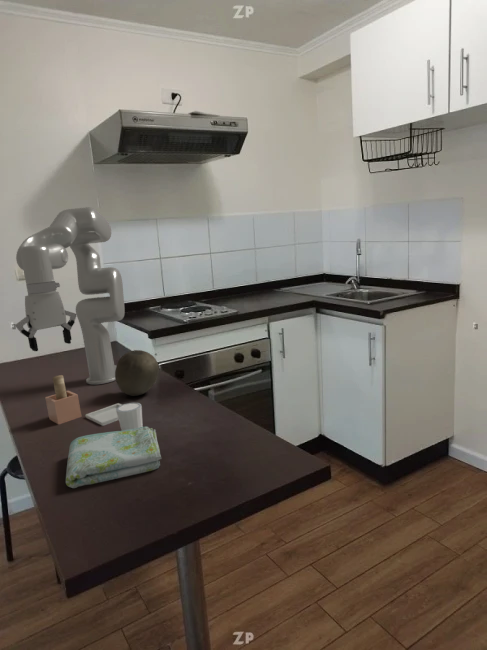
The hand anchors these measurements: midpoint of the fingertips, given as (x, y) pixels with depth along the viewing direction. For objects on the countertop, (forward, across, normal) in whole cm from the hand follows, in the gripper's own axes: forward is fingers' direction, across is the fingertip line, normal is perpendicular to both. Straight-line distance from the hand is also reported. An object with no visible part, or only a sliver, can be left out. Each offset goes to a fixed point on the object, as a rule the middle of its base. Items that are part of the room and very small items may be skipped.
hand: (51, 346), depth 141 cm
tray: (+23, -10, +10) cm, 27 cm away
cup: (+23, 0, 0) cm, 23 cm away
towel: (+24, +4, +39) cm, 46 cm away
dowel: (+22, 0, 0) cm, 22 cm away
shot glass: (+23, -8, +26) cm, 36 cm away
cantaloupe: (+23, -26, 0) cm, 35 cm away
